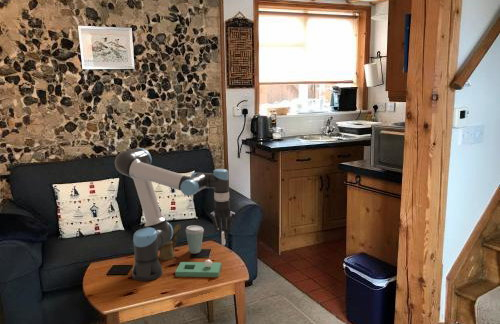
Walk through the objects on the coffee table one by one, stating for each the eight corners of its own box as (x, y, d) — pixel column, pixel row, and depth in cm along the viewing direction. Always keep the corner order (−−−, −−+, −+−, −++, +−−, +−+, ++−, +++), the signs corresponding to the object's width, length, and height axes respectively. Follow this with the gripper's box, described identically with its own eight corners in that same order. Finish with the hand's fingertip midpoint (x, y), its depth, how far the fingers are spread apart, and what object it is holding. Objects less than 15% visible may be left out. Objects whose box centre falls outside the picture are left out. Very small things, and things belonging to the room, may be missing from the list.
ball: (203, 268, 212) (203, 261, 211) (205, 265, 216) (204, 258, 215) (211, 268, 211) (211, 261, 211) (212, 265, 215) (212, 258, 215)
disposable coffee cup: (198, 246, 248) (197, 222, 246) (208, 251, 240) (207, 227, 237) (182, 251, 241) (181, 226, 239) (192, 256, 233) (191, 231, 231)
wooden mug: (184, 256, 235) (183, 225, 231) (162, 261, 227) (160, 230, 224) (178, 251, 242) (177, 221, 239) (156, 256, 235) (154, 226, 232)
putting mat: (175, 276, 209) (175, 271, 209) (180, 266, 221) (180, 262, 220) (218, 277, 208) (218, 272, 207) (221, 266, 220) (221, 262, 219)
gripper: (207, 202, 203) (209, 247, 208) (234, 201, 203) (235, 247, 207) (210, 198, 211) (212, 241, 215) (235, 197, 210) (236, 241, 214)
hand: (223, 244), depth 211 cm, fingers closed
